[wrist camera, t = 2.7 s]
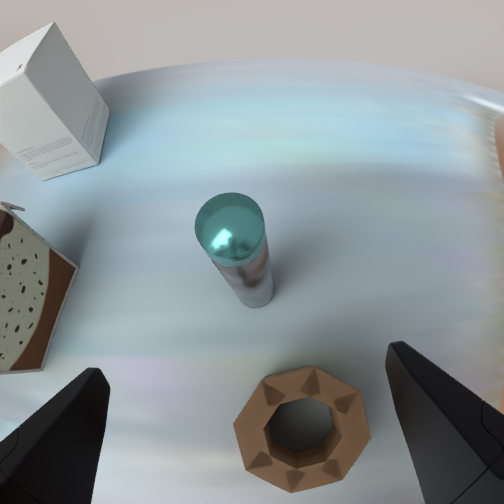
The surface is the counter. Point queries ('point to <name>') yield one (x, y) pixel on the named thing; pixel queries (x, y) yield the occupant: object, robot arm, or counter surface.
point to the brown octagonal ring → (309, 460)
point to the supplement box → (49, 106)
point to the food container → (29, 293)
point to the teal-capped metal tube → (237, 245)
